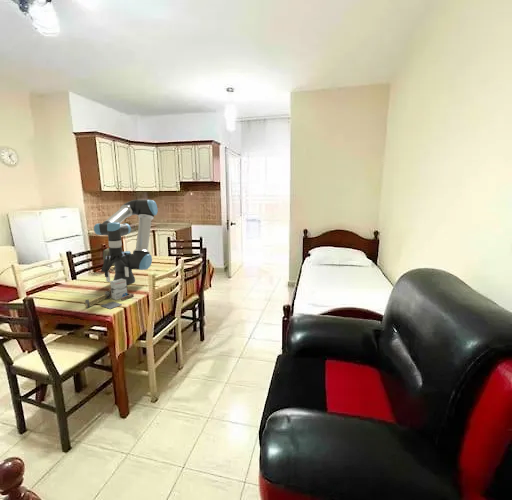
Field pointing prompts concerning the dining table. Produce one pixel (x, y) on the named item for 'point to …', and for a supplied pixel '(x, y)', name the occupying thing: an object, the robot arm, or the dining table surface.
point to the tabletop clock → (106, 254)
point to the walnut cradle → (122, 297)
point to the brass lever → (97, 299)
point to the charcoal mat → (111, 305)
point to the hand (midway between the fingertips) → (117, 279)
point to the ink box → (118, 288)
